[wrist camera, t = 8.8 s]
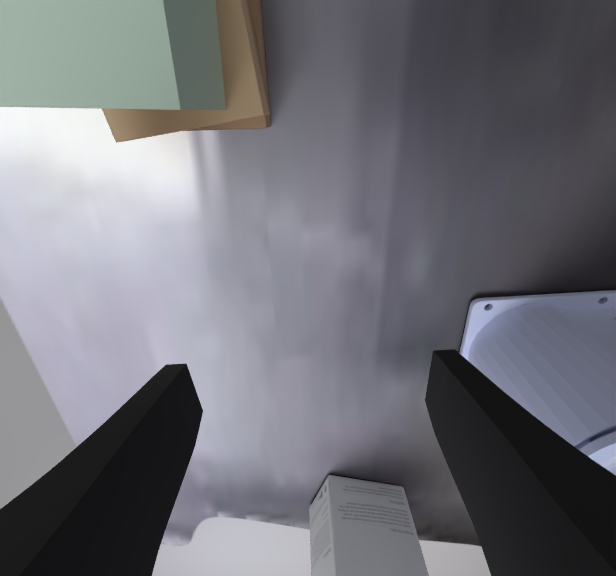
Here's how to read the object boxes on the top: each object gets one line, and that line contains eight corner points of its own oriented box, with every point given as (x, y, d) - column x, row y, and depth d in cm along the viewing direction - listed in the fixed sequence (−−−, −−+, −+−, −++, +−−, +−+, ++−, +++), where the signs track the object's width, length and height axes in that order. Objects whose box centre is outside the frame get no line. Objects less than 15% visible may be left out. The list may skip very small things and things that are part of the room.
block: (208, -69, 9) (129, -209, 5) (226, 110, 11) (180, 110, 7) (53, -72, 9) (-150, -216, 5) (101, 107, 11) (-13, 106, 7)
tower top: (235, -73, 11) (216, -121, 8) (271, 114, 13) (263, 114, 11) (81, -37, 11) (24, -73, 9) (146, 137, 14) (116, 142, 12)
